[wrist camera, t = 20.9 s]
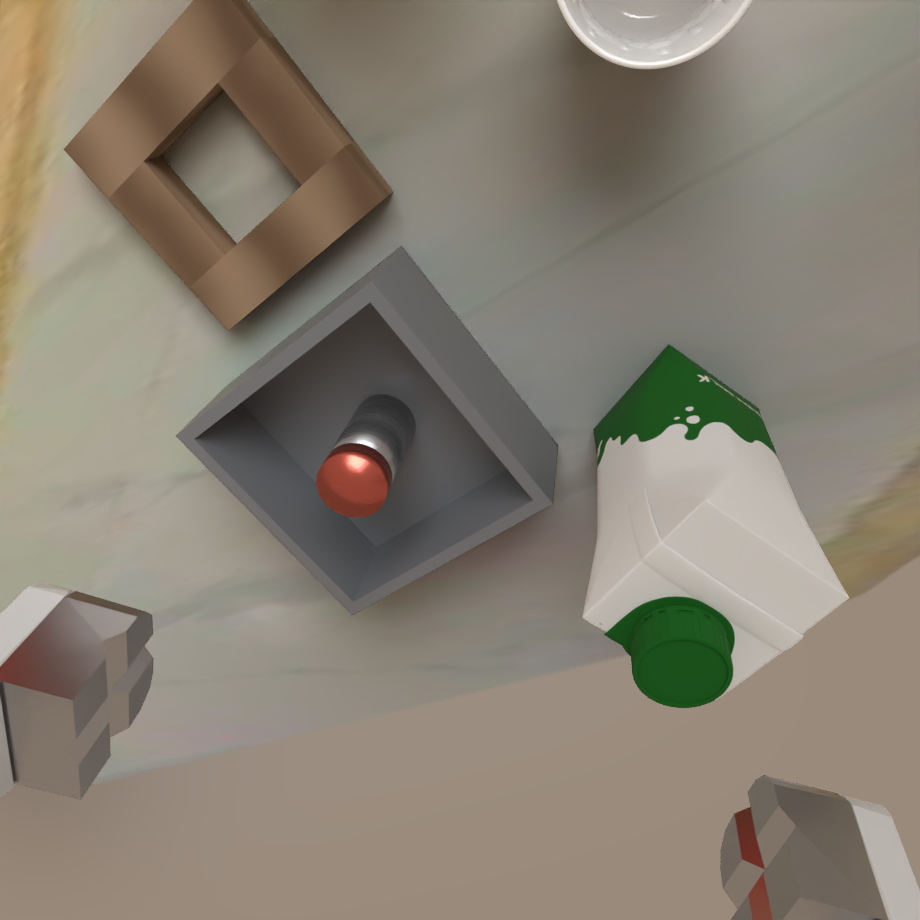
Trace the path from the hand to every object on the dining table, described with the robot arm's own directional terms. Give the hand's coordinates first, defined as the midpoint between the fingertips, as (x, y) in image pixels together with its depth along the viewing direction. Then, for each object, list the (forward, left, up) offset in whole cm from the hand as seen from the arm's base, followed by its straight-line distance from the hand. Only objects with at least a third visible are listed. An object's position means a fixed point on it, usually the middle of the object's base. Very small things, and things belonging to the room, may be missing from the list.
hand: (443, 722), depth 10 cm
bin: (+17, +5, -37) cm, 41 cm away
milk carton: (+2, +15, -37) cm, 40 cm away
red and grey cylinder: (+17, +5, -36) cm, 40 cm away
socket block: (+14, -12, -37) cm, 41 cm away
